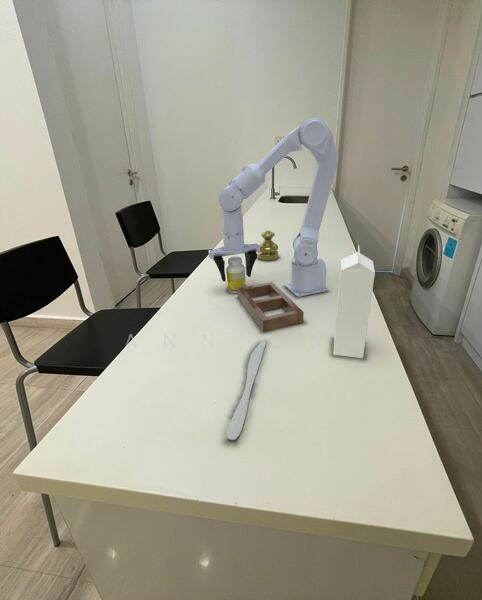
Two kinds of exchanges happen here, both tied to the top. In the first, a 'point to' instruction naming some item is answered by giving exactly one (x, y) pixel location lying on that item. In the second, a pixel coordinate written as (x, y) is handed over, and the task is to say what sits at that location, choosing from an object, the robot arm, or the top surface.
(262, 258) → the brass tiered ornament
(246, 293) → the divided wooden frame
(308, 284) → the robot arm
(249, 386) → the butter knife
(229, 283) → the supplement bottle
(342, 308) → the milk
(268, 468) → the top surface
